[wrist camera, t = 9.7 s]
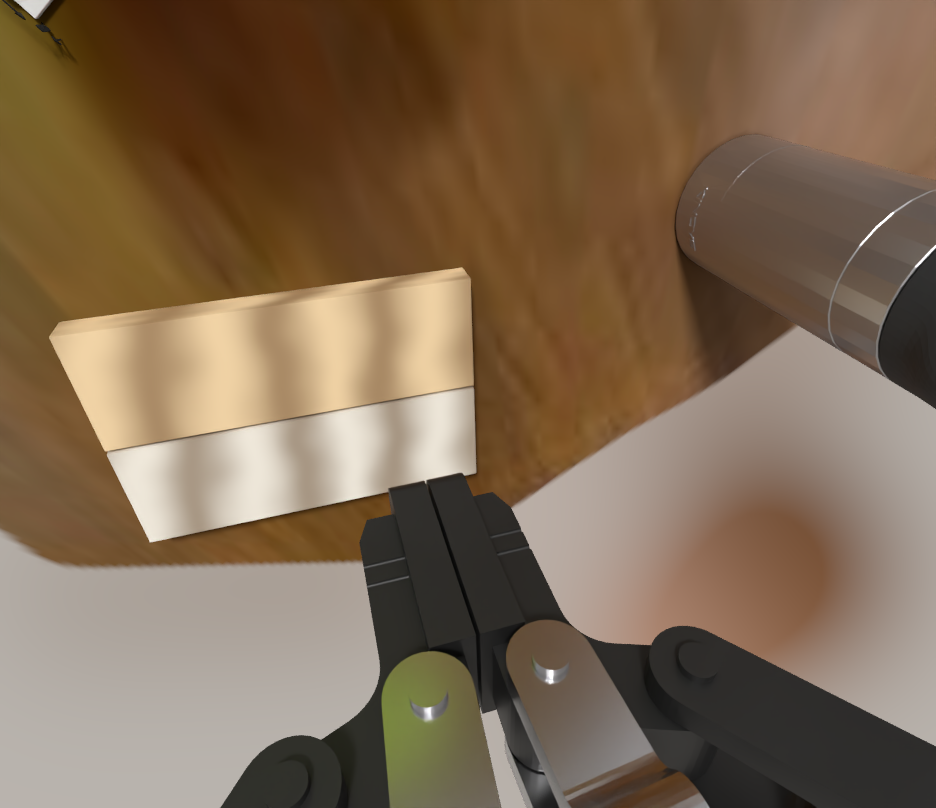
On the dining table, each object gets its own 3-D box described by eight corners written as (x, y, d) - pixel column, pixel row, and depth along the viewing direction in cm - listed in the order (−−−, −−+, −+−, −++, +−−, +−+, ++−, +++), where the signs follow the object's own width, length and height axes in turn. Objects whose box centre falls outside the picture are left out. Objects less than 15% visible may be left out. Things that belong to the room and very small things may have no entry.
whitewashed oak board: (466, 374, 43) (473, 388, 41) (469, 457, 48) (476, 473, 46) (113, 436, 38) (106, 455, 36) (154, 522, 43) (150, 542, 41)
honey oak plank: (462, 267, 38) (470, 278, 37) (466, 371, 43) (473, 385, 41) (59, 321, 33) (48, 337, 32) (111, 432, 38) (105, 451, 36)
